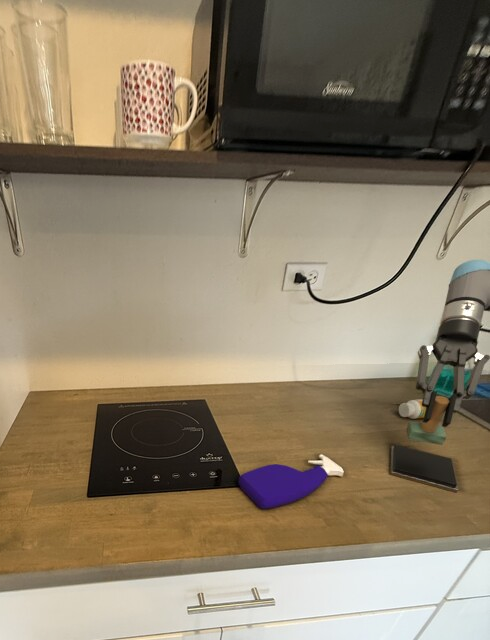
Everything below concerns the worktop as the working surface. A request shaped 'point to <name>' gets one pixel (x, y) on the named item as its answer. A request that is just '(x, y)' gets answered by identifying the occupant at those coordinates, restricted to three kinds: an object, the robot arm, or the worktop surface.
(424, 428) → the brush
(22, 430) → the worktop surface
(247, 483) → the spray bottle
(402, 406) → the supplement bottle
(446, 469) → the flat black square slab
